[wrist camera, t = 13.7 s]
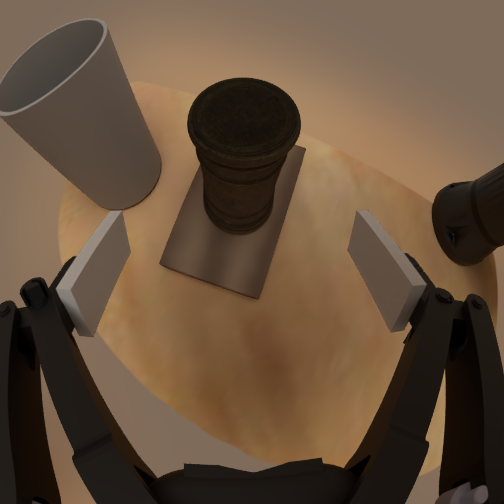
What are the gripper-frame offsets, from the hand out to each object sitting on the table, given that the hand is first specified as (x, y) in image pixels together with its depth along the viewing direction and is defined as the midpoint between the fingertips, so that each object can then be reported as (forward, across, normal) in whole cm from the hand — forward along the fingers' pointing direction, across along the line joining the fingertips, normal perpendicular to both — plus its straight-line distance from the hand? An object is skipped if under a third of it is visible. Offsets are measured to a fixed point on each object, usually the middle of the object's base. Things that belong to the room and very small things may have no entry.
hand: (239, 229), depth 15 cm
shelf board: (+23, 0, -9) cm, 25 cm away
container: (+21, 0, -8) cm, 22 cm away
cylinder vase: (+27, -17, -5) cm, 33 cm away
